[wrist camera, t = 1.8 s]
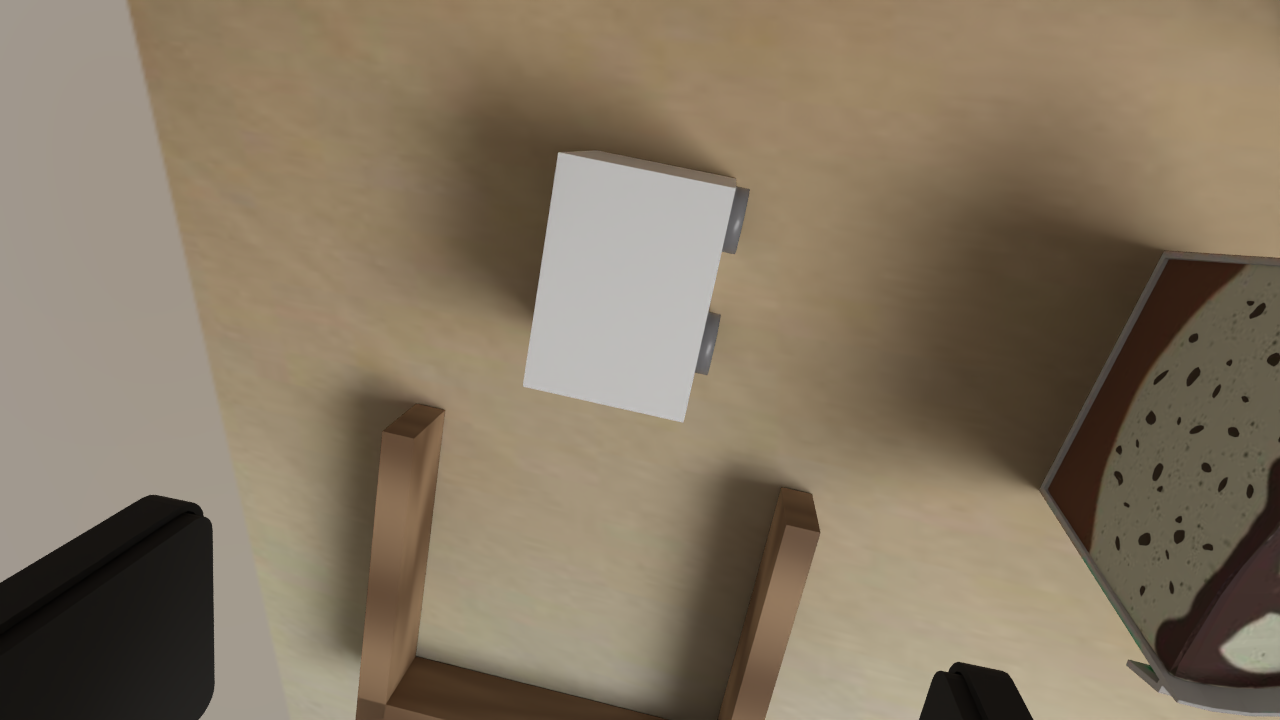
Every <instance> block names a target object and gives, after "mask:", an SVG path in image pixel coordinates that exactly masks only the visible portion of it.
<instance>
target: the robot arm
mask: <svg viewBox="0 0 1280 720" xmlns="http://www.w3.org/2000/svg"><path fill="white" fill-rule="evenodd" d="M212 532H213V531H212V524H211V522H210V520H209V519H208V518H206V517H204V516H203V511H202V509H201V508H200V506H199V505H197V504H195V503H192V502H187V501H183V500H178V499H173V498H168V497H163V496H158V495H149V496H146V497H144V498H142V499H140V500H138V501H137V502H135V503H133V504H131V505H130V506H128V507H126V508H125V509H123V510H121V511H120V512H118V513H116V514H115V515H113V516H111V517H110V518H108V519H106V520H105V521H103V522H101V523H100V524H98V525H97V526H95V527H93V528H92V529H90V530H88V531H87V532H85V533H83V534H81V535H80V536H78V537H76V538H75V539H73V540H71V541H70V542H68V543H66V544H65V545H63V546H61V547H59V548H58V549H56V550H54V551H53V552H51V553H49V554H48V555H46V556H45V557H43V558H41V559H39V560H38V561H36V562H35V563H33V564H31V565H29V566H28V567H26V568H24V569H23V570H21V571H19V572H18V573H16V574H14V575H13V576H11V577H9V578H8V579H6V580H4V581H3V582H1V583H0V720H198V719H199V718H200V717H201V716H202V715H203V713H204V712H205V710H206V709H207V707H208V705H209V703H210V701H211V698H212V695H213V692H214V684H215V681H214V608H213V607H214V606H213V535H212V534H213V533H212ZM919 720H1033V718H1032V716H1031V714H1030V712H1029V711H1028V709H1027V707H1026V705H1025V703H1024V701H1023V699H1022V697H1021V695H1020V693H1019V691H1018V690H1017V688H1016V686H1015V684H1014V682H1013V680H1012V679H1011V677H1010V676H1009V674H1008V673H1006V672H1004V671H1000V670H995V669H990V668H986V667H981V666H976V665H971V664H966V663H961V662H956V663H954V664H953V665H952V666H951V667H950V669H949V672H944V671H938V672H937V673H936V674H935V675H934V677H933V679H932V682H931V685H930V688H929V691H928V694H927V697H926V700H925V703H924V706H923V709H922V712H921V715H920V718H919Z"/></svg>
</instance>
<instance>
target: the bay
mask: <svg viewBox="0 0 1280 720" xmlns="http://www.w3.org/2000/svg"><path fill="white" fill-rule="evenodd" d="M444 415H445V410H442V409H438V408H433V407H429V406H424V405H420V404H415V405H414V406H413V407H412V408H410V409H409V410H408V411H407V412H406V413H404V414H403V415H402V416H401V417H399V418H398V419H397V420H396V421H394V422H393V423H392V424H391V425H390V426H388V427H387V428H386V429H385V430H383V431H382V442H381V452H380V463H379V474H378V485H377V495H376V506H375V517H374V528H373V538H372V549H371V560H370V571H369V581H368V592H367V603H366V614H365V624H364V635H363V646H362V657H361V667H360V678H359V689H358V700H357V710H356V720H667V719H663V718H659V717H655V716H651V715H647V714H643V713H639V712H635V711H631V710H627V709H623V708H619V707H615V706H611V705H607V704H603V703H599V702H595V701H591V700H587V699H583V698H579V697H575V696H571V695H567V694H563V693H559V692H555V691H552V690H548V689H544V688H540V687H536V686H532V685H528V684H524V683H520V682H516V681H512V680H508V679H504V678H500V677H496V676H492V675H488V674H484V673H480V672H476V671H472V670H468V669H464V668H460V667H456V666H452V665H448V664H444V663H440V662H436V661H432V660H428V659H424V658H420V657H416V650H417V642H418V633H419V625H420V616H421V608H422V600H423V591H424V583H425V575H426V566H427V558H428V549H429V541H430V533H431V524H432V516H433V507H434V499H435V491H436V482H437V474H438V466H439V457H440V449H441V440H442V432H443V424H444ZM819 536H820V529H819V524H818V519H817V515H816V510H815V505H814V501H813V496H812V494H810V493H805V492H801V491H796V490H792V489H788V488H783V487H781V490H780V494H779V498H778V501H777V505H776V509H775V512H774V516H773V520H772V523H771V527H770V530H769V534H768V538H767V541H766V545H765V549H764V552H763V556H762V560H761V563H760V567H759V571H758V574H757V578H756V581H755V585H754V589H753V592H752V596H751V600H750V603H749V607H748V611H747V614H746V618H745V622H744V625H743V629H742V632H741V636H740V640H739V643H738V647H737V651H736V654H735V658H734V662H733V665H732V669H731V673H730V676H729V680H728V684H727V687H726V691H725V694H724V698H723V702H722V705H721V709H720V713H719V716H718V720H765V717H766V713H767V710H768V707H769V703H770V700H771V697H772V693H773V690H774V687H775V683H776V680H777V677H778V673H779V670H780V667H781V663H782V660H783V656H784V653H785V650H786V646H787V643H788V640H789V636H790V633H791V630H792V626H793V623H794V620H795V616H796V613H797V609H798V606H799V603H800V599H801V596H802V593H803V589H804V586H805V583H806V579H807V576H808V573H809V569H810V566H811V562H812V559H813V556H814V552H815V549H816V546H817V542H818V539H819Z"/></svg>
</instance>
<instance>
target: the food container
mask: <svg viewBox="0 0 1280 720" xmlns="http://www.w3.org/2000/svg"><path fill="white" fill-rule="evenodd" d="M1039 491H1040V493H1041V494H1042V496H1043V497H1044V499H1045V501H1046V502H1047V504H1048V505H1049V507H1050V508H1051V510H1052V512H1053V513H1054V515H1055V516H1056V518H1057V519H1058V521H1059V523H1060V524H1061V526H1062V527H1063V529H1064V530H1065V532H1066V534H1067V535H1068V537H1069V538H1070V540H1071V541H1072V543H1073V545H1074V546H1075V548H1076V549H1077V551H1078V552H1079V554H1080V556H1081V557H1082V559H1083V560H1084V562H1085V563H1086V565H1087V567H1088V568H1089V570H1090V571H1091V573H1092V574H1093V576H1094V578H1095V579H1096V581H1097V582H1098V584H1099V585H1100V587H1101V589H1102V590H1103V592H1104V593H1105V595H1106V596H1107V598H1108V600H1109V601H1110V603H1111V604H1112V606H1113V607H1114V609H1115V611H1116V612H1117V614H1118V615H1119V617H1120V618H1121V620H1122V622H1123V623H1124V625H1125V626H1126V628H1127V629H1128V631H1129V633H1130V634H1131V636H1132V637H1133V639H1134V640H1135V642H1136V644H1137V645H1138V647H1139V648H1140V650H1141V651H1142V653H1143V655H1144V656H1145V658H1146V659H1147V661H1148V662H1149V664H1150V665H1147V664H1143V663H1140V662H1136V661H1132V660H1128V661H1127V664H1126V665H1127V666H1128V667H1129V668H1130V669H1131V670H1132V671H1134V672H1135V673H1136V674H1137V675H1138V676H1139V677H1141V678H1142V679H1143V680H1144V681H1145V682H1147V683H1148V684H1149V685H1150V686H1151V687H1152V688H1154V689H1155V690H1156V691H1157V692H1158V693H1162V694H1166V695H1170V696H1172V697H1173V698H1174V700H1175V701H1176V702H1177V703H1181V704H1185V705H1189V706H1192V707H1196V708H1200V709H1204V710H1208V711H1213V712H1221V713H1228V714H1236V715H1244V716H1280V258H1272V257H1257V256H1241V255H1226V254H1210V253H1195V252H1179V251H1164V252H1163V254H1162V256H1161V258H1160V260H1159V262H1158V264H1157V266H1156V268H1155V270H1154V271H1153V273H1152V275H1151V277H1150V279H1149V281H1148V283H1147V285H1146V287H1145V289H1144V291H1143V292H1142V294H1141V296H1140V298H1139V300H1138V302H1137V304H1136V306H1135V308H1134V310H1133V312H1132V314H1131V315H1130V317H1129V319H1128V321H1127V323H1126V325H1125V327H1124V329H1123V331H1122V333H1121V335H1120V336H1119V338H1118V340H1117V342H1116V344H1115V346H1114V348H1113V350H1112V352H1111V354H1110V356H1109V357H1108V359H1107V361H1106V363H1105V365H1104V367H1103V369H1102V371H1101V373H1100V375H1099V377H1098V378H1097V380H1096V382H1095V384H1094V386H1093V388H1092V390H1091V392H1090V394H1089V396H1088V398H1087V399H1086V401H1085V403H1084V405H1083V407H1082V409H1081V411H1080V413H1079V415H1078V417H1077V419H1076V420H1075V422H1074V424H1073V426H1072V428H1071V430H1070V432H1069V434H1068V436H1067V438H1066V440H1065V441H1064V443H1063V445H1062V447H1061V449H1060V451H1059V453H1058V455H1057V457H1056V459H1055V461H1054V463H1053V464H1052V466H1051V468H1050V470H1049V472H1048V474H1047V476H1046V478H1045V480H1044V482H1043V484H1042V485H1041V487H1040V489H1039Z"/></svg>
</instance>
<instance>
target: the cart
mask: <svg viewBox="0 0 1280 720" xmlns="http://www.w3.org/2000/svg"><path fill="white" fill-rule="evenodd" d="M749 191H750V189H746V188H741V187H736V178H731V177H726V176H721V175H716V174H712V173H707V172H702V171H697V170H692V169H687V168H682V167H677V166H672V165H667V164H662V163H657V162H652V161H647V160H642V159H638V158H633V157H628V156H623V155H618V154H613V153H608V152H603V151H598V150H591V151H572V152H558V158H557V164H556V171H555V178H554V184H553V191H552V197H551V204H550V211H549V217H548V224H547V230H546V237H545V244H544V250H543V257H542V263H541V270H540V277H539V283H538V290H537V296H536V303H535V310H534V316H533V323H532V329H531V336H530V343H529V349H528V356H527V362H526V369H525V376H524V382H523V387H528V388H532V389H537V390H541V391H545V392H550V393H554V394H559V395H563V396H568V397H572V398H576V399H581V400H585V401H590V402H594V403H599V404H603V405H608V406H612V407H616V408H621V409H625V410H630V411H634V412H639V413H643V414H647V415H652V416H656V417H661V418H665V419H670V420H674V421H679V422H684V418H685V413H686V409H687V404H688V400H689V395H690V391H691V387H692V382H693V378H694V373H699V374H704V375H708V371H709V367H710V363H711V359H712V355H713V351H714V346H715V342H716V337H717V332H718V327H719V322H720V317H721V315H720V314H715V313H711V312H708V311H709V306H710V302H711V297H712V293H713V288H714V284H715V279H716V275H717V271H718V266H719V262H720V257H721V253H722V252H726V253H731V254H735V253H736V249H737V245H738V241H739V237H740V233H741V229H742V225H743V220H744V216H745V211H746V206H747V202H748V197H749Z"/></svg>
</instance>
